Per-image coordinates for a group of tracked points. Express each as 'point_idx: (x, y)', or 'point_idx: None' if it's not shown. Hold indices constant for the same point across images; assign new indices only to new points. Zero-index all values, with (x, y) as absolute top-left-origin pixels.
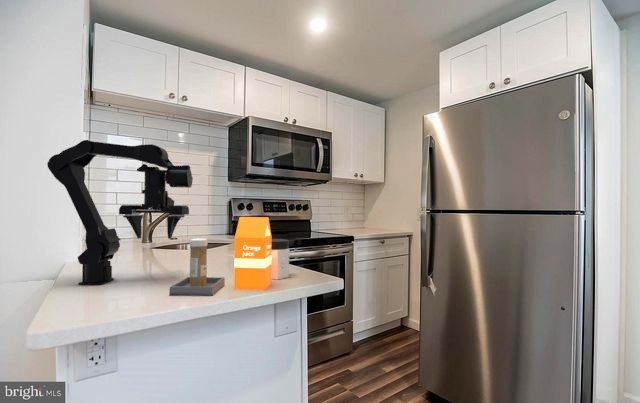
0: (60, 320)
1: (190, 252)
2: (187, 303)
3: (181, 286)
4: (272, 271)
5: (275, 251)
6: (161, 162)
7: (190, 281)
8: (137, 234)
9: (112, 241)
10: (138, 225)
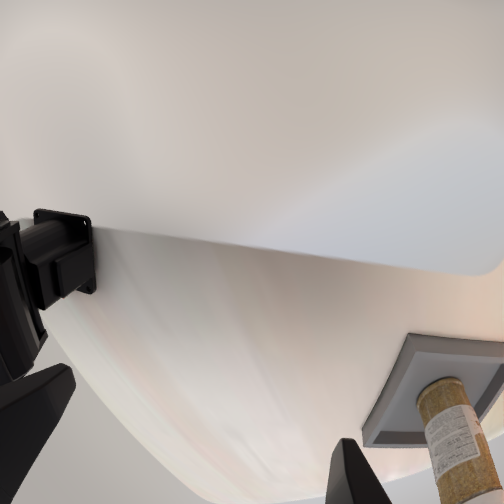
0: (209, 487)
1: (440, 495)
2: (401, 464)
3: (394, 445)
4: None
5: None
6: None
7: (422, 420)
8: (57, 413)
9: (3, 365)
10: (5, 450)
